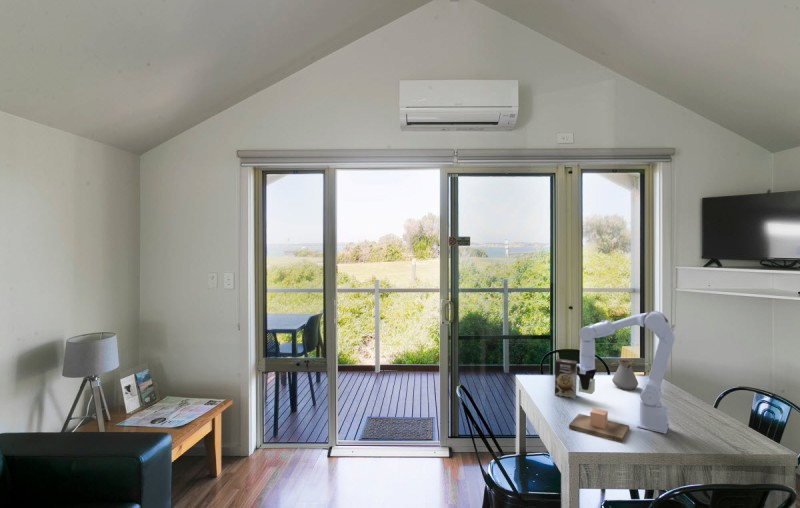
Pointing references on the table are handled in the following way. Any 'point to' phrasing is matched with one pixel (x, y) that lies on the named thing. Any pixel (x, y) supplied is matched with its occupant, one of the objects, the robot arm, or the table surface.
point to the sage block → (591, 387)
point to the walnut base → (610, 432)
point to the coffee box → (565, 378)
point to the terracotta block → (598, 418)
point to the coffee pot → (625, 376)
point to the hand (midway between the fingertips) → (586, 387)
